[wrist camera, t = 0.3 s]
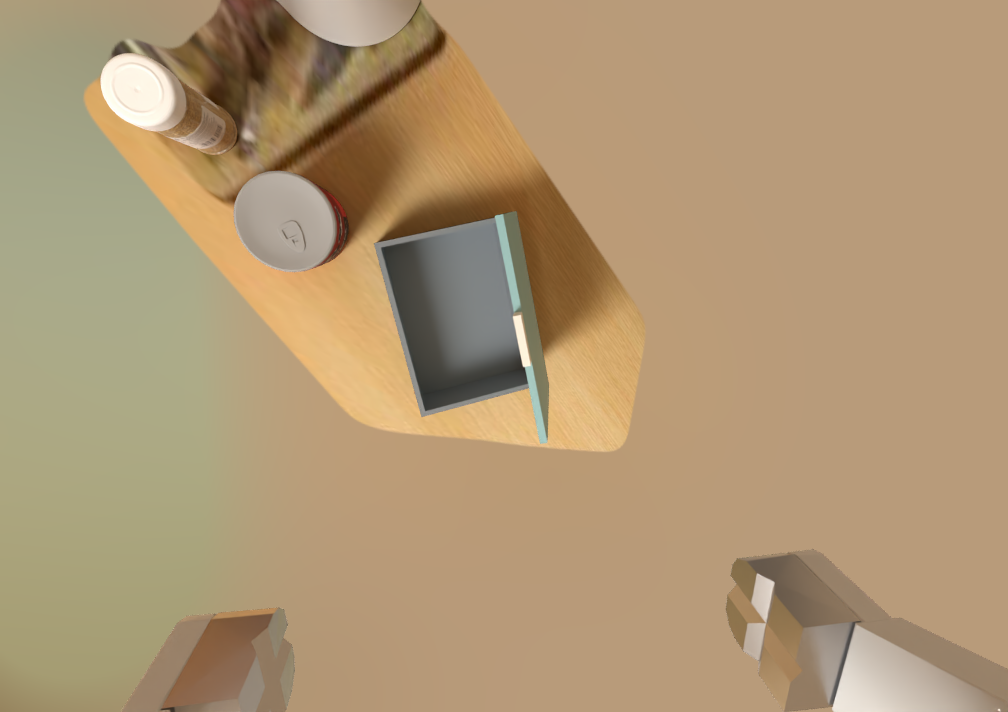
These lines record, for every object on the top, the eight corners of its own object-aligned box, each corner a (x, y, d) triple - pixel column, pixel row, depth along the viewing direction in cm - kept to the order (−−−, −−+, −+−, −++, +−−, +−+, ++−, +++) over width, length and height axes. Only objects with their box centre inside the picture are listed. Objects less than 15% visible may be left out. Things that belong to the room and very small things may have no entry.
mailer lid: (492, 216, 33) (501, 214, 33) (510, 212, 46) (516, 210, 46) (539, 450, 38) (547, 449, 38) (543, 385, 52) (548, 385, 51)
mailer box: (377, 242, 50) (373, 243, 44) (495, 217, 52) (506, 215, 46) (419, 398, 55) (421, 417, 50) (525, 370, 57) (539, 385, 51)
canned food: (311, 279, 50) (287, 291, 39) (251, 218, 47) (208, 213, 37) (366, 232, 50) (357, 231, 39) (309, 167, 47) (283, 148, 37)
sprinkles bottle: (218, 94, 44) (144, 38, 31) (249, 142, 46) (190, 106, 33) (173, 118, 44) (80, 70, 31) (206, 165, 45) (130, 138, 33)
